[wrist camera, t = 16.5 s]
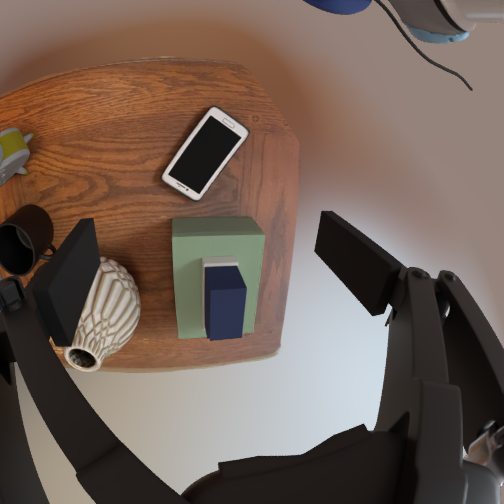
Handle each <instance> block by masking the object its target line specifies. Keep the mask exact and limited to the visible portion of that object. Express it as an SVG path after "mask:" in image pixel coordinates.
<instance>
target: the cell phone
mask: <svg viewBox="0 0 504 504" xmlns="http://www.w3.org/2000/svg"><path fill="white" fill-rule="evenodd" d="M249 133H250V132H249V130H248V129H247V128H246V127H245V126H244V125H243V124H241V123H240V122H239V121H237V120H236V119H235V118H233V117H232V116H230V115H229V114H228V113H226V112H225V111H224V110H222V109H221V108H219V107H217V106H212V107H211V108H210V109H209V110H208V111H207V112H206V113H205V114H204V116H203V117H202V118H201V120H200V121H199V122H198V123H197V125H196V126H195V127H194V129H193V130H192V131H191V133H190V134H189V135H188V137H187V138H186V140H185V141H184V142H183V144H182V145H181V147H180V148H179V150H178V151H177V152H176V154H175V155H174V156H173V158H172V159H171V161H170V162H169V164H168V165H167V167H166V168H165V170H164V171H163V173H162V175H161V180H162V182H164V183H165V184H166V185H168V186H170V187H171V188H173V189H174V190H176V191H178V192H179V193H181V194H183V195H184V196H186V197H187V198H189V199H191V200H192V201H195V202H198V201H200V200H201V198H202V197H203V196H204V195H205V193H206V192H207V191H206V190H208V189H209V188H210V186H211V185H212V184H211V183H213V182H214V181H215V180H214V179H216V178H217V177H218V175H219V174H220V173H221V171H222V170H223V168H224V167H225V166H226V164H227V163H228V162H229V160H230V159H231V158H232V157H233V155H234V154H235V153H236V151H237V150H238V149H239V147H240V146H241V145H242V144H243V142H244V141H245V140H246V139H247V137H248V135H249Z"/></svg>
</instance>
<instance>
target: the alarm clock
mask: <svg viewBox="0 0 504 504" xmlns="http://www.w3.org/2000/svg"><path fill="white" fill-rule="evenodd" d="M33 136H34V133H33V132H32V133H30V134H28V135H26V136H22V134H21V132H20V131H19V129H17V128H9V129H6V130H4V131H2V132H0V186H1V185H3V184H4V183H5V182H6V181H7V180H8V179H10V178H11V177H12V176H13V175H14V174H15V173H20V174H23V175H27V174H28V171H27V170H26V169H25V168H24V167H22V166H23V165H24V163H25V162H26V161H27V160H28V158H29V155H30V152H29V148H28V146H27V144H26V143H27V142H28V141H29V140H30V139H31V138H32V137H33Z"/></svg>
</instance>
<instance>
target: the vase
mask: <svg viewBox="0 0 504 504" xmlns="http://www.w3.org/2000/svg"><path fill="white" fill-rule="evenodd" d="M100 260H101V264H100V267H99V269H98V271H97V274H96V276H95V279H94V281H93V284H92V287H91V289H90V292H89V295H88V297H87V300H86V303H85V306H84V309H83V311H82V314H81V317H80V320H79V324H78V327H77V330H76V333H75V336H74V340H73V343H72V347H64V356H65V358H66V360H67V362H68V363H69V364H70V365H71V366H73V367H74V368H76V369H78V370H81V371H84V372H92V371H95V370H97V369H98V368H99V367H100V366H101V364H102V362H103V361H104V359H105V358H107V357H109V356H111V355H112V354H114V353H115V352H117V351H118V350H120V349H121V348H122V347H123V346H124V345H125V344H126V343H127V342H128V341H129V339H130V338H131V336H132V335H133V333H134V331H135V329H136V327H137V325H138V322H139V318H140V313H141V302H140V295H139V291H138V288H137V285H136V283H135V281H134V279H133V278H132V276H131V275H130V273H129V272H128V271H127V270H126V269H125V268H124V267H123V266H122V265H120V264H119V263H117V262H116V261H114V260H112V259H109V258H106V257H102V256H100Z"/></svg>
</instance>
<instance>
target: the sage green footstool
mask: <svg viewBox="0 0 504 504" xmlns="http://www.w3.org/2000/svg"><path fill="white" fill-rule="evenodd" d="M264 243H265V233H264V232H263V231H262V230H261V228H260V227H259V226H258V224H257V223H256V222H255V220H254V219H253V218H252V217H198V218H172V255H173V276H174V291H175V305H176V317H177V327H178V337H179V339H185V338H200V337H207V335H206V330H203V325H202V257H225V256H236V258H237V260H238V262H239V263H238V269H239V271H240V273H241V275H242V278H243V280H244V282H245V284H246V287H247V294H246V304H245V313H244V323H243V333H252V332H253V328H254V321H255V313H256V306H257V298H258V290H259V283H260V275H261V267H262V259H263V251H264ZM243 333H242V334H243Z"/></svg>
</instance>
